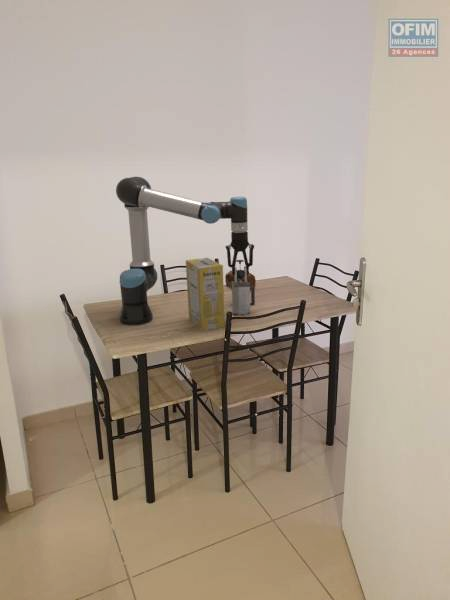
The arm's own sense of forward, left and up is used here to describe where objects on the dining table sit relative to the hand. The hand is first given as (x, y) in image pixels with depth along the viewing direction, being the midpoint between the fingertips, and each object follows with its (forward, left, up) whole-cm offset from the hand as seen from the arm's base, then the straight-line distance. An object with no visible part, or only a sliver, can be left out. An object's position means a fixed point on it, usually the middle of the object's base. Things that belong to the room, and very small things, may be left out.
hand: (240, 280), depth 220 cm
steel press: (+1, 0, -16) cm, 16 cm away
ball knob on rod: (0, 0, -9) cm, 9 cm away
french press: (+2, +14, -16) cm, 22 cm away
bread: (+7, +45, -16) cm, 48 cm away
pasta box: (-18, -10, -16) cm, 26 cm away
